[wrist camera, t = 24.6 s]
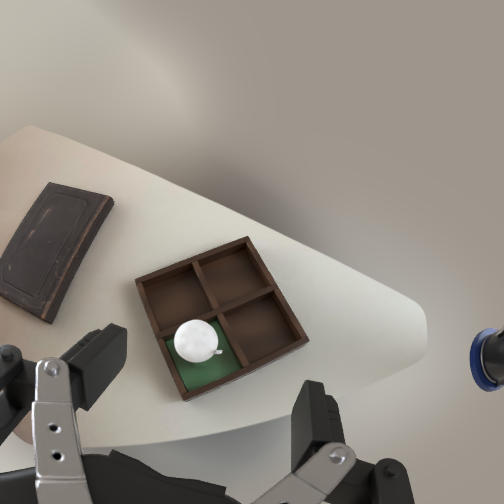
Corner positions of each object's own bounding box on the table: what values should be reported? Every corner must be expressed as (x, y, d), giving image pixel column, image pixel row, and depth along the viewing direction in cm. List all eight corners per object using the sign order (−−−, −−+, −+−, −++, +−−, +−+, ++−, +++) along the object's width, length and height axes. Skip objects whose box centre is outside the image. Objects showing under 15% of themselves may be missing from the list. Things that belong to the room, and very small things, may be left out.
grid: (304, 345, 40) (310, 340, 37) (186, 401, 34) (183, 400, 32) (246, 245, 47) (248, 235, 44) (138, 287, 41) (134, 279, 39)
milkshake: (212, 382, 35) (209, 372, 27) (176, 360, 36) (162, 342, 27) (230, 353, 37) (233, 333, 29) (195, 332, 38) (187, 305, 30)
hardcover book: (-7, 290, 37) (-14, 284, 35) (53, 189, 49) (48, 181, 47) (53, 325, 36) (46, 320, 34) (115, 205, 48) (112, 196, 46)
